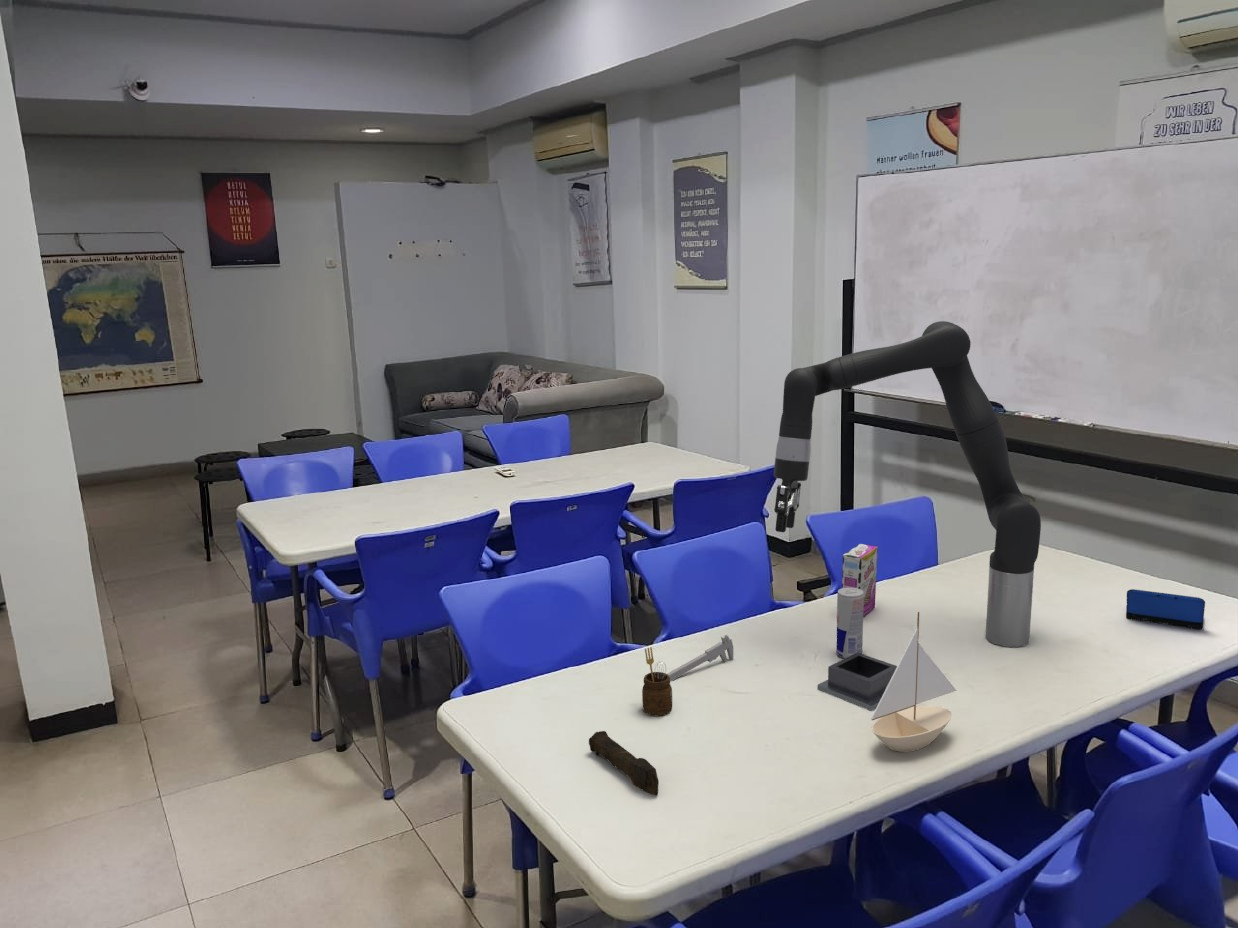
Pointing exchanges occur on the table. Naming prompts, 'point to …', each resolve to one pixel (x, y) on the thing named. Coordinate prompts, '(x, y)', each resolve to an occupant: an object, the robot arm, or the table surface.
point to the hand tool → (625, 762)
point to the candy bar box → (861, 573)
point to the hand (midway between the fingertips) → (784, 529)
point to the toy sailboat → (912, 702)
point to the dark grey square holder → (859, 680)
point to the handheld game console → (1165, 608)
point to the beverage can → (849, 621)
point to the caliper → (706, 657)
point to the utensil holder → (656, 690)
